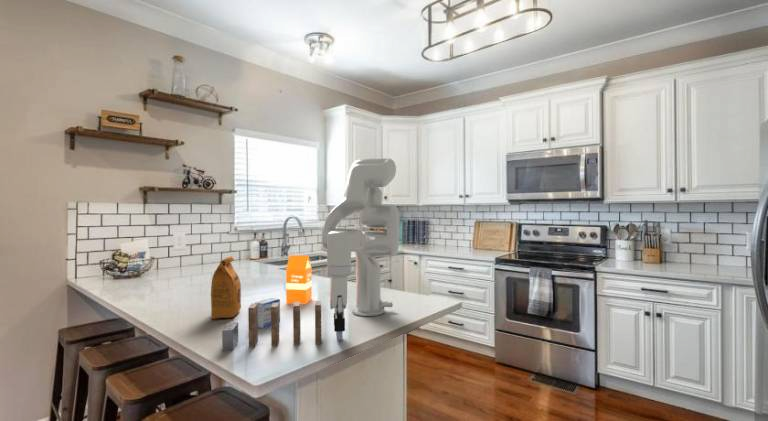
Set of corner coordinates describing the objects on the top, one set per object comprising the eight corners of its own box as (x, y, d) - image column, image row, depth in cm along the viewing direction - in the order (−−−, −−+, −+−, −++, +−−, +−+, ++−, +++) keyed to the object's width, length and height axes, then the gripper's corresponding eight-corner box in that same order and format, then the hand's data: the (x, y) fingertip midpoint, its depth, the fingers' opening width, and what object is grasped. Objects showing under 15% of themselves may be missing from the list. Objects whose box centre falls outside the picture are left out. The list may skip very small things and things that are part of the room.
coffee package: (245, 310, 154) (244, 255, 154) (234, 320, 142) (233, 260, 141) (220, 310, 154) (219, 255, 153) (206, 320, 141) (206, 260, 141)
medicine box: (263, 329, 132) (262, 303, 132) (254, 326, 134) (254, 302, 134) (280, 322, 139) (280, 298, 139) (271, 320, 141) (271, 297, 141)
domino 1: (257, 341, 120) (257, 303, 120) (255, 347, 115) (254, 307, 115) (251, 341, 120) (251, 303, 120) (248, 348, 115) (248, 308, 115)
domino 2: (279, 340, 121) (279, 302, 121) (277, 346, 116) (277, 306, 116) (273, 340, 121) (273, 302, 121) (271, 346, 116) (270, 307, 116)
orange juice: (292, 298, 173) (292, 254, 173) (311, 299, 172) (311, 254, 171) (286, 303, 165) (285, 256, 165) (305, 303, 164) (305, 257, 164)
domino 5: (336, 339, 119) (336, 301, 119) (336, 334, 124) (336, 297, 124) (342, 339, 119) (342, 301, 119) (341, 334, 124) (341, 297, 124)
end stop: (238, 341, 120) (238, 322, 120) (233, 350, 113) (232, 329, 113) (228, 342, 120) (228, 322, 120) (222, 350, 113) (222, 330, 113)
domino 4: (321, 338, 123) (321, 300, 123) (321, 343, 118) (321, 304, 118) (315, 338, 123) (315, 301, 123) (315, 344, 118) (315, 305, 118)
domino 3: (300, 339, 122) (300, 301, 122) (299, 345, 117) (299, 305, 117) (294, 339, 122) (294, 301, 122) (293, 345, 117) (293, 306, 117)
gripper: (326, 266, 129) (327, 320, 129) (327, 276, 112) (327, 338, 112) (349, 265, 130) (349, 319, 130) (353, 275, 113) (353, 337, 114)
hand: (339, 327), depth 121 cm, fingers closed on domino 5, 4 cm apart
